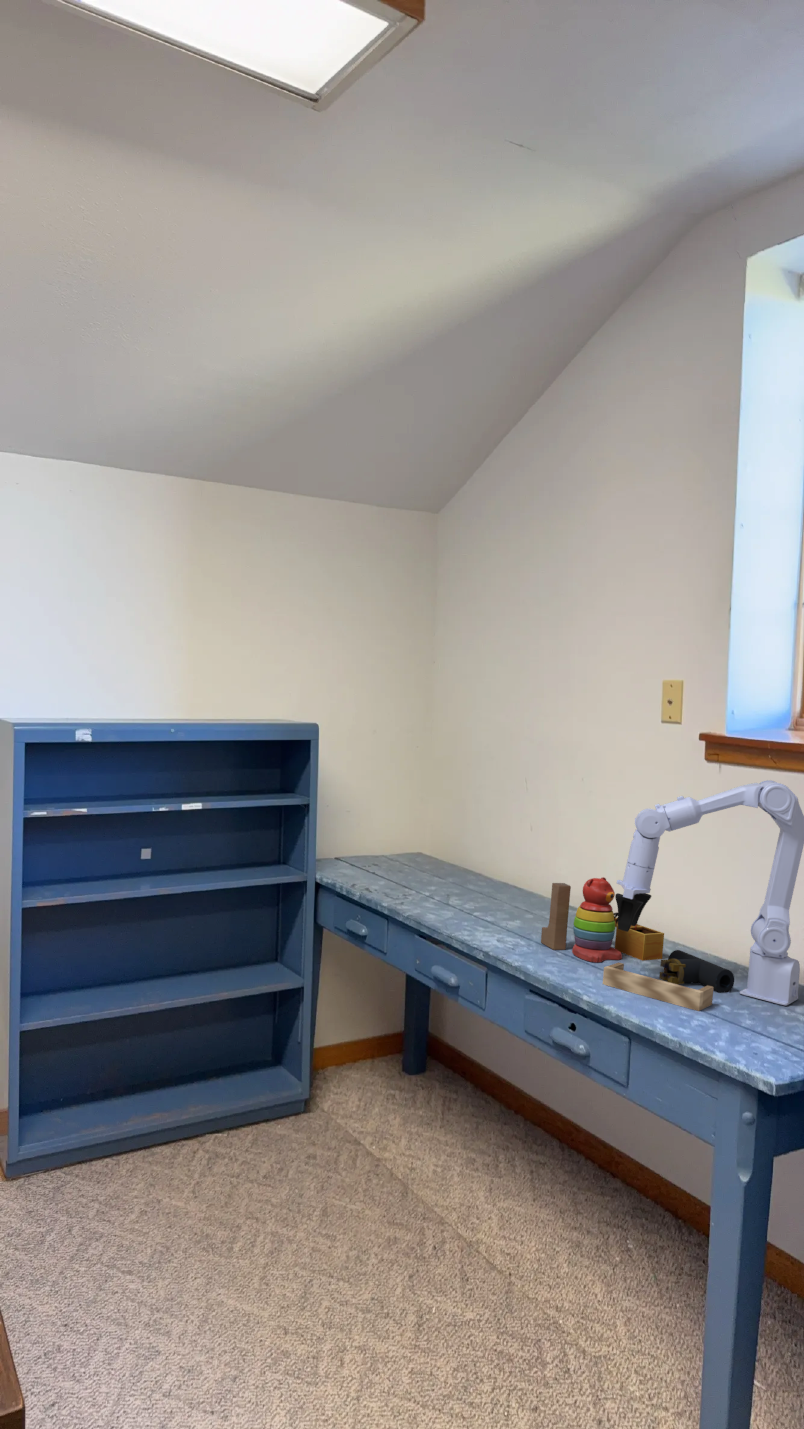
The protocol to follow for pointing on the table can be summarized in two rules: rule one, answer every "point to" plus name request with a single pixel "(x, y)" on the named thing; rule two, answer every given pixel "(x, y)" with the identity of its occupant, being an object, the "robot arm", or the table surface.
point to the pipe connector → (695, 972)
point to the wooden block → (557, 918)
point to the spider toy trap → (639, 942)
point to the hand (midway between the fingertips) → (626, 927)
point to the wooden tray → (657, 988)
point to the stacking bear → (595, 923)
